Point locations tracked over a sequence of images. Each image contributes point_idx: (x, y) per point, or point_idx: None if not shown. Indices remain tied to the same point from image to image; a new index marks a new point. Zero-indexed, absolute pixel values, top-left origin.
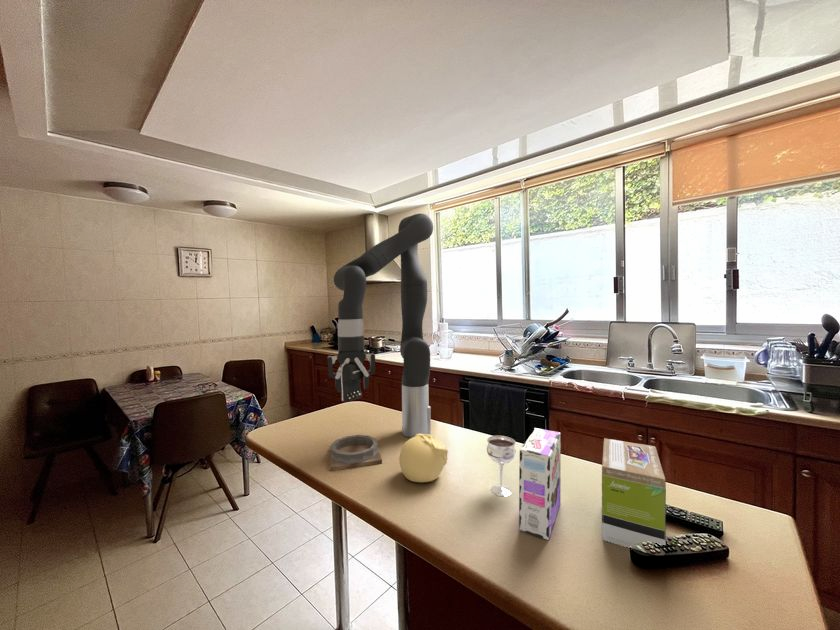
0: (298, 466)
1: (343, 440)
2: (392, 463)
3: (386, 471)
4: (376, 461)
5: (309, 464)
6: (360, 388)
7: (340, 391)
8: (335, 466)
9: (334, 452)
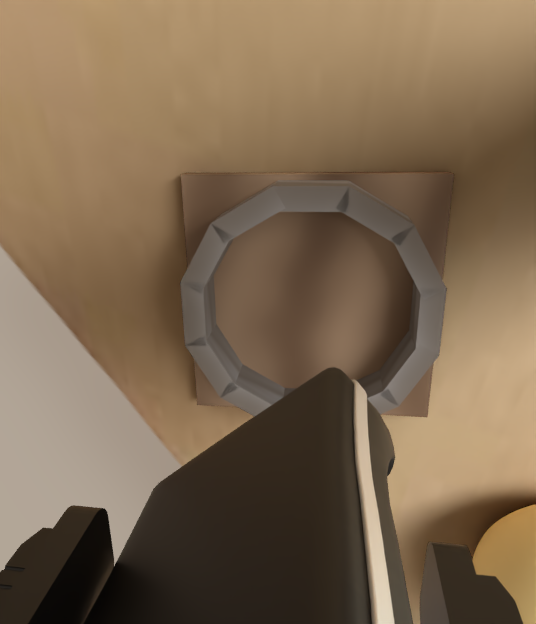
0: (63, 315)
1: (252, 226)
2: (470, 423)
3: (423, 473)
4: (399, 412)
5: (106, 312)
6: (386, 475)
7: (111, 568)
8: (216, 404)
9: (202, 368)
